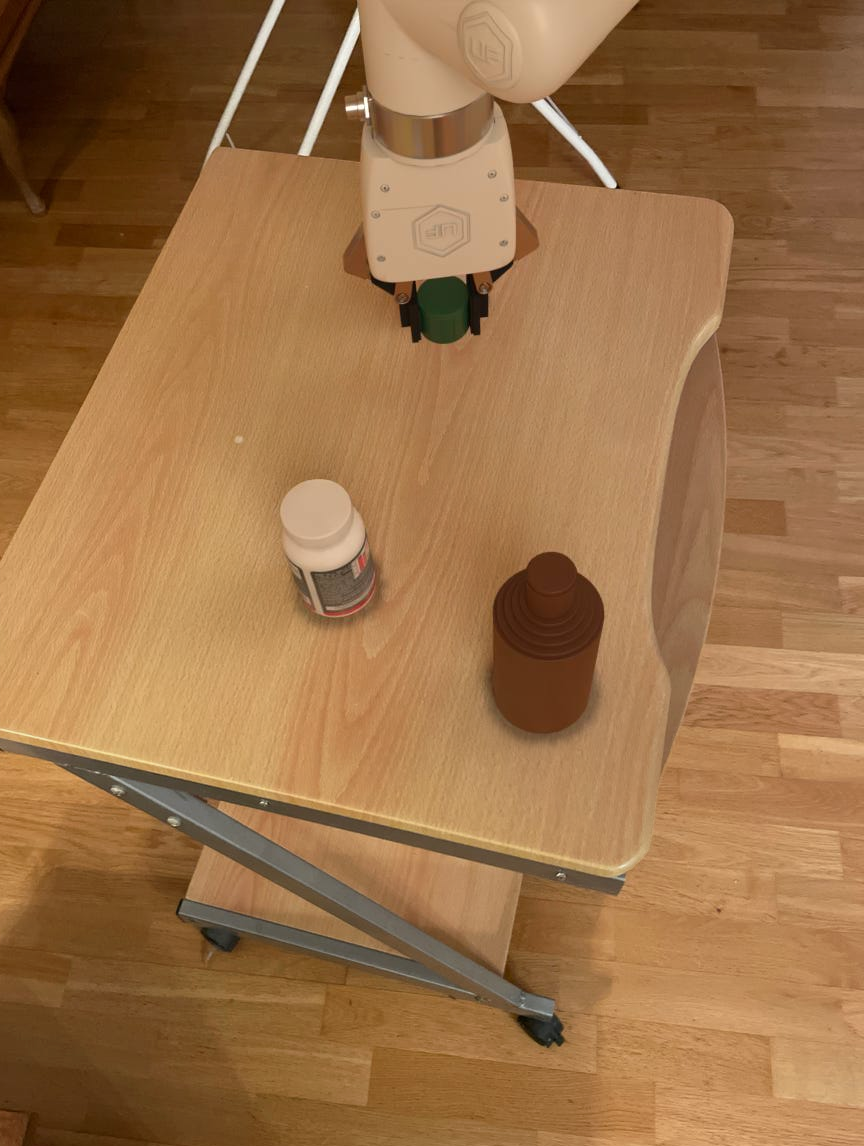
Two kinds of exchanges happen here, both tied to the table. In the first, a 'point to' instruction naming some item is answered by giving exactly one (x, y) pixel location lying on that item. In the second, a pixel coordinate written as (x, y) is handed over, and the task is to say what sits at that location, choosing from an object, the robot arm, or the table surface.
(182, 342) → the table surface
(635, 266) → the table surface
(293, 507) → the pill bottle
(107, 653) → the table surface
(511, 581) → the bottle
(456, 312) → the cap
